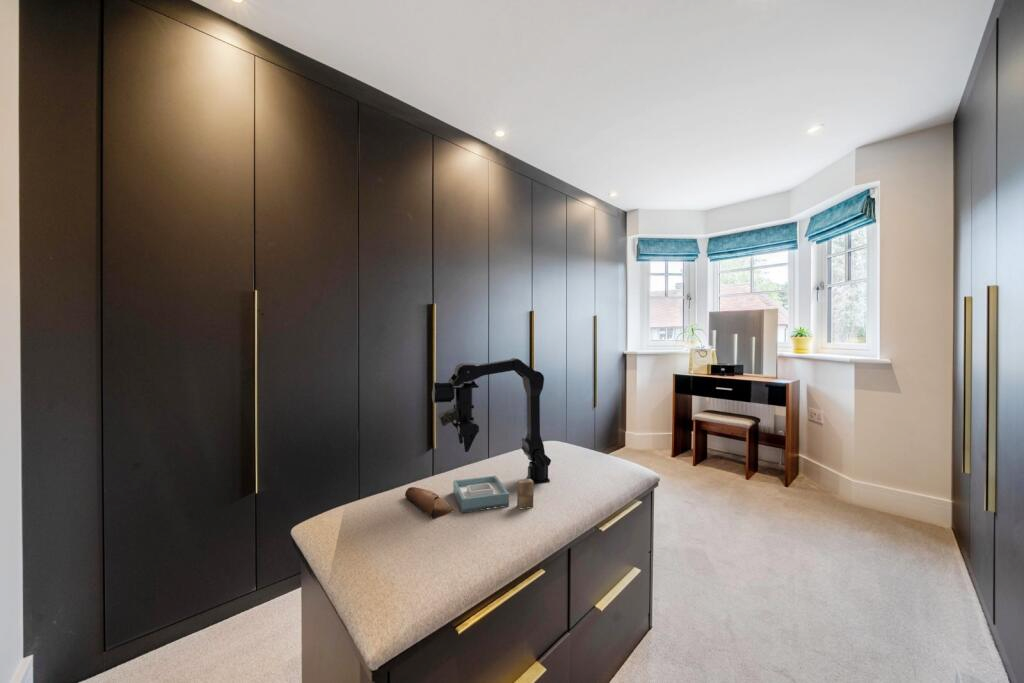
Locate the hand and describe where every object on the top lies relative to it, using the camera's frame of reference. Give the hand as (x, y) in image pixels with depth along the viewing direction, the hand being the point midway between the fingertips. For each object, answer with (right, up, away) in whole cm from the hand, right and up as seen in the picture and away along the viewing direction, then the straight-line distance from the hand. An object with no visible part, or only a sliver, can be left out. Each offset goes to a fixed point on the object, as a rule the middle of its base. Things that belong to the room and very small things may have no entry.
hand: (463, 447), depth 127 cm
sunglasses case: (-9, -15, -10) cm, 21 cm away
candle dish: (+6, -15, -6) cm, 17 cm away
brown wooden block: (+20, -15, -11) cm, 27 cm away
